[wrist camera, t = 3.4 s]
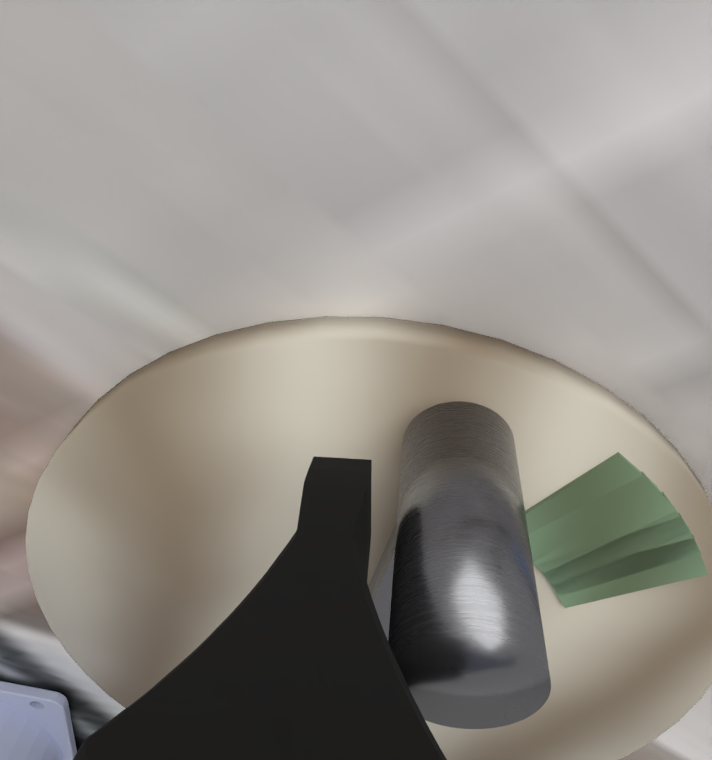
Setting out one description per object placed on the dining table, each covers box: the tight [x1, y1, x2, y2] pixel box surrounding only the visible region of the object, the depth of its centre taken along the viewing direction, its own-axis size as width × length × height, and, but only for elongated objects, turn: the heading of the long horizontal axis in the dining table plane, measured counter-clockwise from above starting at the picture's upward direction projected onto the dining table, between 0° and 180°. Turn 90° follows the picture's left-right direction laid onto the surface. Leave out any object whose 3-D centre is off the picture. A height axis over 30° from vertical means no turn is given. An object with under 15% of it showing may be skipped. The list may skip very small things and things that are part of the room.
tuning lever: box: [368, 401, 551, 729], centre depth 14 cm, size 11×3×6 cm, turn 166°
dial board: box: [25, 317, 712, 760], centre depth 19 cm, size 20×20×1 cm
